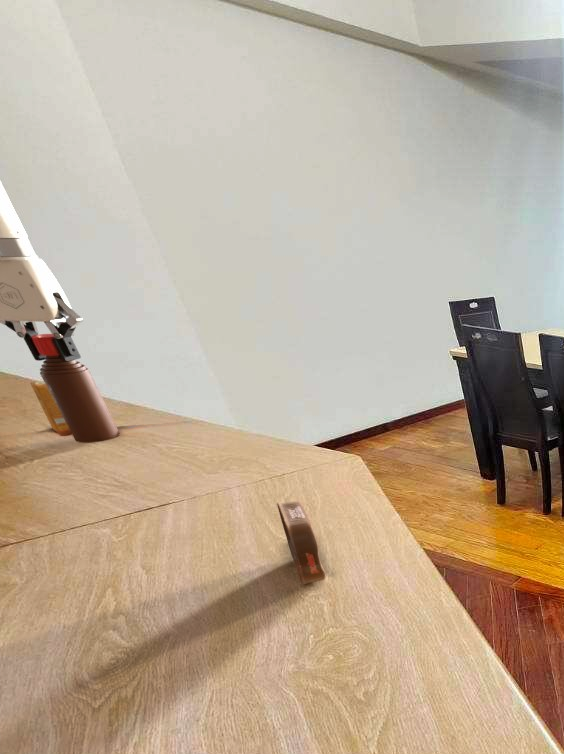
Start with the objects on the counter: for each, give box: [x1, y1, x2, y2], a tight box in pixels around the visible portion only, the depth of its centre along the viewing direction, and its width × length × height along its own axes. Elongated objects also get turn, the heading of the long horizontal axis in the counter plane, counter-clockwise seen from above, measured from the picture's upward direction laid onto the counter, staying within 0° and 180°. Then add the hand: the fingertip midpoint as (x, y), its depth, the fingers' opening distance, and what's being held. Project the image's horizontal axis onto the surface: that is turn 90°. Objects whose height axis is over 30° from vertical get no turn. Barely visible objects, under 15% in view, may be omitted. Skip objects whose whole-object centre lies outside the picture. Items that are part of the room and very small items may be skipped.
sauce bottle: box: [39, 355, 121, 443], centre depth 113 cm, size 6×6×19 cm
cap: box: [31, 333, 59, 356], centre depth 109 cm, size 4×4×3 cm
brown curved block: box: [276, 500, 327, 586], centre depth 77 cm, size 15×3×8 cm, turn 40°
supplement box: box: [30, 381, 72, 437], centre depth 116 cm, size 3×3×10 cm
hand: (58, 358), depth 110 cm, fingers closed on cap, 3 cm apart
